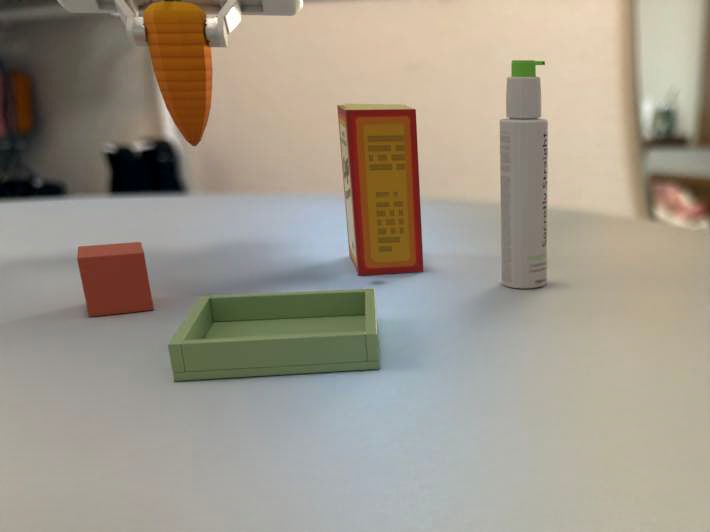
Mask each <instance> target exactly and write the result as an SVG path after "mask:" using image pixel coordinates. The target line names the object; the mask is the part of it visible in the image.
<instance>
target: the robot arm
mask: <svg viewBox="0 0 710 532" xmlns="http://www.w3.org/2000/svg"><path fill="white" fill-rule="evenodd" d="M56 1H57V2H58V4H59V5H60V6H61V7H62V8H63V9H64V10H66V11H67V12H68V13H75V14H78V13H79V14H118V15H119V18H120V20H121V22H122V23H123V24H124V25H125V31H126V32H125V33H126V36H127V39H128V42H129V44H130V46H131V47H132V48H141V47H142V48H147V47H148V42H147V33H146V28H145V26H144V18H143V15H144V10H145V9H146V8H147V6H149V5H150V4H152V3H156V2H162V1H164V0H56ZM182 2H188V3H192V4H195V5H197V6H199V7H200V8H201V9H202V10H203V11H204V12H205V14H206V16H207V15H208V16H209V15H211V16H209V17H208V16H207V17H205V24H206V27H205V33H206V38H207V40H208V45H209V47H211V48H228V44H229V43H228V42H229V40H228V39H229V36H228V35H229V34H231V33H232V32H233V31H234V29H236V28H237V26H238V25H239V24H240V23H241V22H242V16H270V17H271V16H278V17H281V16H282V17H292V16H295V15H297V14H298V13H299V12H300V11H301V10H302V9H303V8H304V0H182ZM141 14H142V15H141ZM148 48H149V47H148Z"/></svg>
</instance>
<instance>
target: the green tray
mask: <svg viewBox="0 0 710 532" xmlns="http://www.w3.org/2000/svg"><path fill="white" fill-rule="evenodd" d="M377 316H378V315H377V302H376V289H375V288H360V289H359V288H358V289H357V288H354V289H331V290H309V291H308V290H307V291H287V292H285V291H283V292H261V293H259V292H258V293H239V294H213V295H200V296H199V298H198V299H197V300H196V302H195V304H194V305H193V307H192V308H191V310H190V311H189V312H188V314H187V316H186V317H185V318H184V320H183V322H182V323H181V325H180V326H179V327H178V329H177V330H176V331H175V333H174V335H173V337H171V339H170V341H169V342H168V343H167V348H168V353H169V360H170V365H171V371H172V377H173V381H174V382H181V381H182V382H183V381H184V382H185V381H197V380H198V381H199V380H216V379H235V378H251V377H268V376H282V375H299V374H302V375H303V374H314V373H315V374H316V373H317V374H319V373H334V372H350V371H353V372H354V371H367V370H369V371H370V370H380V351H379V334H378V333H379V332H378V317H377Z"/></svg>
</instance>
